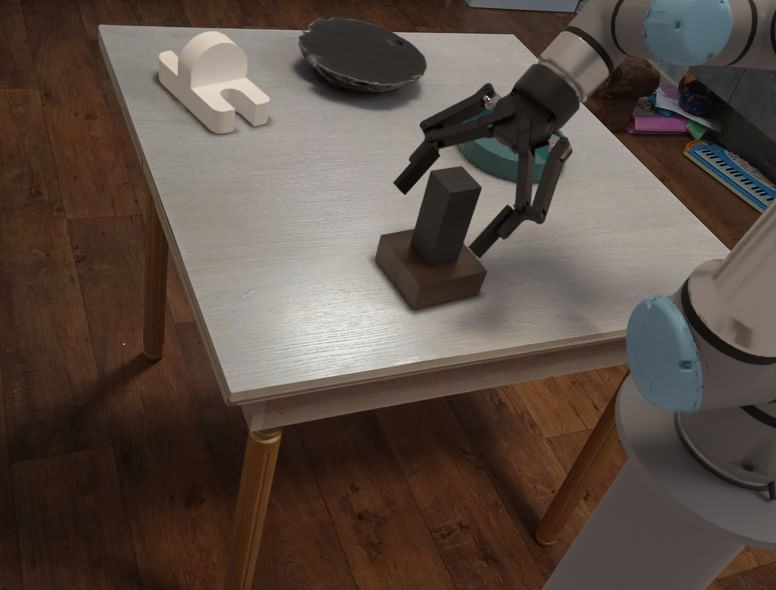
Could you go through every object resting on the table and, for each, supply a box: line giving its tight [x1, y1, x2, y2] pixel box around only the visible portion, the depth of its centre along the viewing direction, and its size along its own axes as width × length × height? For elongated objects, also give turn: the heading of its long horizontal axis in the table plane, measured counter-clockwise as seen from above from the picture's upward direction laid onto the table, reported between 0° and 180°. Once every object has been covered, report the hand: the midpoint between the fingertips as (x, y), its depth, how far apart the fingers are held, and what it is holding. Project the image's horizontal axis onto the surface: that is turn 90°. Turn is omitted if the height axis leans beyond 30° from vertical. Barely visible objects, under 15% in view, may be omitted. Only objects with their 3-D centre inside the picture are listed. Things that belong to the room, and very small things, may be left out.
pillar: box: [410, 165, 483, 266], centre depth 100 cm, size 4×4×11 cm
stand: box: [374, 228, 488, 311], centre depth 105 cm, size 10×10×4 cm
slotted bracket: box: [158, 30, 271, 135], centre depth 122 cm, size 18×10×10 cm, turn 40°
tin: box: [457, 107, 566, 184], centre depth 132 cm, size 17×17×4 cm
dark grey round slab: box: [297, 16, 428, 93], centre depth 139 cm, size 22×22×5 cm
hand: (435, 220), depth 98 cm, fingers open, 13 cm apart
